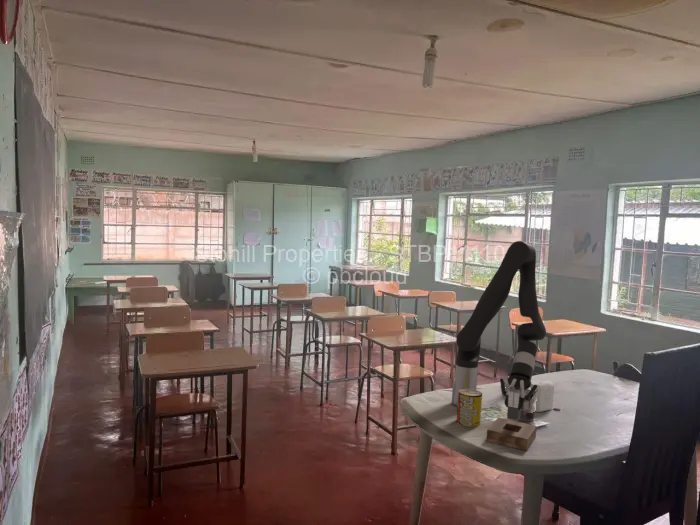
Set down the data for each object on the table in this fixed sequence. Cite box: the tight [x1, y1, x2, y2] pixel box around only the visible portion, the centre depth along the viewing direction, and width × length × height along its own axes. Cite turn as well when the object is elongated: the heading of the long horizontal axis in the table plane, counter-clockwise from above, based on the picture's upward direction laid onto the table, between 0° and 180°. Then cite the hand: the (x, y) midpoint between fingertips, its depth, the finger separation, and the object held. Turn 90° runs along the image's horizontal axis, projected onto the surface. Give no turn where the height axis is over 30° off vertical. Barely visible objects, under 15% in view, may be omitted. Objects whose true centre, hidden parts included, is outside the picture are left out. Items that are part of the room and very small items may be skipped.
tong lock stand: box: [485, 416, 538, 452], centre depth 190 cm, size 14×15×4 cm
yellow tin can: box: [456, 389, 483, 428], centre depth 204 cm, size 9×9×12 cm
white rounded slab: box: [534, 380, 555, 413], centre depth 223 cm, size 10×4×12 cm, turn 123°
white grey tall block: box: [506, 386, 522, 422], centre depth 189 cm, size 4×4×11 cm
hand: (513, 407), depth 187 cm, fingers closed on white grey tall block, 3 cm apart
